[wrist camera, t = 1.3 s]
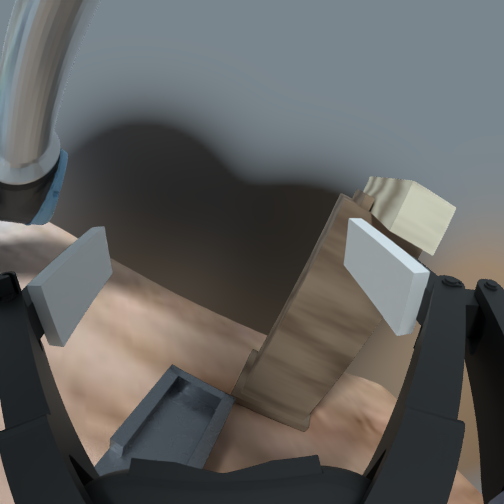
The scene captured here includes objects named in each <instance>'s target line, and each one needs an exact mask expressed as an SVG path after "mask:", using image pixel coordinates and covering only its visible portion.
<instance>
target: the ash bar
mask: <svg viewBox="0 0 504 504" xmlns="http://www.w3.org/2000/svg"><path fill="white" fill-rule="evenodd" d="M363 192H364V193H366V194H368V195H369V196H371V197H373V198H375V199H374V201H373V204H372V206H371V208H370V210H369V211H370V212H371V213H372V214H373V215H374V216H375V217H376V218H377V219H378V220H379V221H380V222H381V223H382V224H383V225H384V226H385V227H386V228H387V229H388V230H389V231H391V232H392V233H394V234H396V235H398V236H400V237H401V238H403V239H405V240H407V241H408V242H410V243H412V244H414V245H415V246H417V247H419V248H421V249H422V250H424V251H426V252H427V253H429V254H431V255H433V254H434V252H435V251H436V248H437V247H438V245H439V243H440V241H441V239H442V237H443V235H444V233H445V231H446V229H447V227H448V225H449V222H450V221H451V218H452V216H453V214H454V212H455V210H456V208H455V207H454V206H453V205H451V204H450V203H448V202H447V201H445V200H444V199H442V198H440V197H439V196H437V195H436V194H434V193H433V192H431V191H429V190H428V189H426V188H425V187H423V186H421V185H420V184H418V183H416V182H415V181H411V180H402V179H393V178H382V177H370V178H369V181H368V183H367V185H366V187H365V189H364V191H363Z"/></svg>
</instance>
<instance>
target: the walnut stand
mask: <svg viewBox="0 0 504 504" xmlns="http://www.w3.org/2000/svg"><path fill="white" fill-rule="evenodd" d="M374 199H375V198H373V197H371V196H369V195H368V194H366V193H364V192H362V191H360V190H358V189H357V190H356V192H355V194H354V196H353V198H352V199H351V198H350V197H348V196H345V195H344V194H340V196H339V198H338V200H337V202H336V204H335V207H334V209H333V211H332V213H331V215H330V217H329V219H328V221H327V223H326V225H325V227H324V229H323V231H322V233H321V235H320V237H319V239H318V242H317V244H316V245H315V247H314V249H313V251H312V253H311V255H310V257H309V259H308V261H307V263H306V265H305V267H304V269H303V271H302V273H301V275H300V277H299V279H298V281H297V283H296V284H295V286H294V289H293V290H292V292H291V294H290V296H289V298H288V300H287V301H286V303H285V305H284V307H283V309H282V311H281V313H280V314H279V317H278V318H277V320H276V322H275V324H274V325H273V327H272V329H271V331H270V333H269V335H268V336H267V338H266V340H265V342H264V343H263V345H262V347H261V349H260V350H259V352H258V351H256V350H254V349H253V350H252V352H251V354H250V356H249V358H248V360H247V362H246V364H245V366H244V369H243V371H242V373H241V375H240V377H239V379H238V381H237V383H236V385H235V387H234V390H233V392H232V394H231V396H232V397H234V398H236V399H235V402H236V403H238V404H240V405H242V406H244V407H246V408H248V409H251V410H253V411H255V412H257V413H259V414H262V415H264V416H266V417H269V418H271V419H273V420H276V421H278V422H281V423H283V424H285V425H288V426H290V427H293V428H296V429H298V430H301V431H303V432H305V431H306V430H307V429H308V428H309V421H310V415H311V411H312V410H313V409H314V408H315V406H316V405H317V404H318V403H319V402H320V401H321V399H322V398H323V397H324V396H325V395H326V393H327V392H328V391H329V390H330V389H331V387H332V386H333V385H334V384H335V382H336V381H337V380H338V379H339V377H340V376H341V375H342V373H343V372H344V371H345V369H346V368H347V367H348V366H349V364H350V363H351V362H352V360H353V359H354V358H355V356H356V355H357V354H358V352H359V351H360V349H361V348H362V347H363V345H364V344H365V342H366V341H367V340H368V338H369V337H370V335H371V334H372V332H373V331H374V329H375V328H376V326H377V325H378V324H379V322H380V320H381V319H382V317H383V316H382V315H381V313H380V312H379V310H378V309H377V308H376V306H375V305H374V304H373V302H372V301H371V300H370V298H369V297H368V296H367V294H366V293H365V292H364V291H363V289H362V288H361V287H360V285H359V284H358V283H357V281H356V280H355V279H354V278H353V276H352V275H351V274H350V272H349V271H348V270H347V269H346V267H345V266H344V258H345V249H346V240H347V231H348V221H349V218H362V219H363V220H364V221H366V222H367V223H369V224H370V225H371V226H373V227H374V228H375V229H377V230H378V231H379V232H381V233H382V234H383V235H385V236H386V237H387V238H388V239H390V240H391V241H392V242H394V243H395V244H396V245H397V246H399V247H400V248H401V249H403V250H404V251H405V252H406V253H408V254H409V255H411V256H413V257H415V258H416V259H418V257H419V256H420V254H421V252H422V249H421V248H419V247H417V246H415V245H414V244H412V243H410V242H408V241H407V240H405V239H403V238H401V237H400V236H398V235H396V234H394V233H392V232H391V231H389V230H388V229H387V228H386V227H385V226H384V225H383V224H382V223H381V222H380V221H379V220H378V219H377V218H376V217H375V216H374V215H373V214H372V213H371V212H370V211H369V210H370V208H371V206H372V204H373V201H374Z"/></svg>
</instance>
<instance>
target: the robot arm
mask: <svg viewBox="0 0 504 504" xmlns="http://www.w3.org/2000/svg"><path fill="white" fill-rule="evenodd" d="M100 2H101V0H16V1H15V4H14V7H13V10H12V14H11V17H10V21H9V24H8V28H7V32H6V37H5V41H4V45H3V51H2V55H1V61H0V221H6V222H15V223H22V224H25V225H31V224H34V225H44V224H46V223H48V222H49V221H50V219H51V217H52V216H53V213H54V210H55V207H56V204H57V201H58V196H59V192H60V189H61V186H62V183H63V178H64V174H65V170H66V165H67V159H68V155H67V152H66V151H64V150H62V149H61V148H60V141H59V138H58V136H57V134H56V132H55V131H54V129H55V124H56V120H57V116H58V112H59V108H60V105H61V101H62V98H63V95H64V91H65V88H66V84H67V82H68V78H69V75H70V73H71V69H72V67H73V64H74V61H75V58H76V56H77V53H78V50H79V48H80V45H81V43H82V41H83V38H84V36H85V33H86V31H87V29H88V27H89V24H90V22H91V20H92V18H93V16H94V13H95V12H96V9H97V7H98V5H99V3H100ZM344 266H345V267H346V269H347V270H348V271H349V272H350V274H351V275H352V276H353V278H354V279H355V280H356V281H357V283H358V284H359V285H360V287H361V288H362V289H363V291H364V292H365V293H366V294H367V296H368V297H369V298H370V300H371V301H372V302H373V304H374V305H375V306H376V308H377V309H378V310H379V312H380V313H381V315H382V316H383V317H384V319H385V320H386V321H387V323H388V324H389V325H390V327H391V328H392V330H393V331H394V332H395V334H396V335H397V336H399V335H405V334H410V333H412V332H413V329H414V326H415V323H416V320H417V321H418V322H419V324H420V325H421V328H420V331H419V334H418V337H417V339H416V342H415V345H414V352H413V355H412V358H411V362H410V365H409V368H408V371H407V374H406V377H405V380H404V383H403V386H402V389H401V392H400V394H399V397H398V400H397V402H396V405H395V407H394V410H393V412H392V415H391V417H390V420H389V422H388V425H387V427H386V429H385V432H384V434H383V436H382V438H381V441H380V443H379V445H378V447H377V449H376V451H375V453H374V455H373V457H372V459H371V461H370V463H369V465H368V467H367V469H366V470H365V472H364V474H363V475H360V474H358V473H355V472H352V471H349V470H346V469H342V468H337V467H330V466H321V465H320V461H319V457H318V455H313V456H306V457H299V458H292V459H283V460H273V461H269V462H266V463H263V464H259V465H256V466H252V467H248V468H245V469H241V470H237V471H233V472H229V473H217V472H212V471H208V470H203V469H199V468H195V467H191V466H187V465H184V464H180V463H177V462H168V461H157V460H147V459H139V458H131V462H130V468H129V469H124V470H119V471H114V472H111V473H107V474H105V475H102V476H100V475H99V474H98V473H97V471H96V470H95V468H94V466H93V464H92V463H91V461H90V459H89V457H88V455H87V453H86V451H85V450H84V448H83V446H82V444H81V442H80V440H79V438H78V435H77V433H76V431H75V429H74V427H73V425H72V423H71V420H70V418H69V416H68V414H67V411H66V409H65V406H64V404H63V401H62V399H61V396H60V394H59V391H58V389H57V386H56V383H55V380H54V378H53V375H52V372H51V369H50V366H49V363H48V360H47V356H46V353H45V350H44V346H43V344H42V342H41V340H40V339H41V337H42V336H43V334H45V336H46V338H47V341H48V343H49V345H52V346H60V347H64V346H65V344H66V342H67V341H68V339H69V337H70V336H71V334H72V333H73V331H74V329H75V328H76V326H77V325H78V323H79V322H80V320H81V319H82V317H83V315H84V314H85V312H86V311H87V309H88V308H89V306H90V305H91V303H92V302H93V301H94V299H95V298H96V296H97V295H98V293H99V292H100V290H101V289H102V287H103V286H104V285H105V283H106V282H107V280H108V279H109V278H110V276H111V275H112V273H113V271H112V266H111V261H110V256H109V251H108V245H107V240H106V234H105V228H104V227H93V228H91V229H90V230H88V231H87V232H86V233H85V234H84V235H82V236H81V237H80V238H79V239H78V240H76V241H75V242H74V243H73V244H72V245H70V246H69V247H68V248H67V249H66V250H65V251H63V252H62V253H61V254H60V255H59V256H58V257H57V258H56V259H54V260H53V261H52V262H51V263H50V264H49V265H48V266H47V267H46V268H44V269H43V270H42V271H41V272H40V273H39V274H38V275H37V276H36V277H35V278H34V279H33V280H32V281H31V282H30V283H29V284H28V285H27V286H26V287H25V288H24V289H23V290H22V291H21V288H20V285H19V282H18V279H17V276H16V273H15V272H12V271H10V272H5V273H2V274H0V400H1V407H2V413H3V418H4V424H5V430H2V431H0V454H1V459H2V463H3V466H4V470H5V474H6V477H7V481H8V484H9V487H10V490H11V493H12V496H13V499H14V502H15V504H447V502H448V499H449V495H450V492H451V489H452V485H453V482H454V478H455V474H456V470H457V466H458V461H459V457H460V453H461V448H462V443H463V438H464V432H465V423H464V422H463V421H461V420H457V418H458V412H459V405H460V398H461V390H462V381H463V371H464V370H463V369H464V359H465V363H466V367H467V372H468V377H469V381H470V386H471V392H472V396H473V403H474V409H475V416H476V421H477V422H476V423H477V431H478V439H479V451H480V466H481V483H482V494H483V501H484V504H504V289H503V288H502V287H501V286H500V285H499V284H497V282H495V281H493V280H488V279H480V280H479V281H478V282H477V286H476V289H475V290H470V289H465V286H464V284H463V283H462V282H461V281H460V280H458V279H456V278H454V277H451V276H445V275H443V276H441V275H440V276H437V275H436V274H435V273H433V272H432V271H431V270H430V269H429V268H427V267H426V266H425V265H424V264H422V263H421V262H420V261H419V260H418V259H416V258H415V257H413V256H411V255H409V254H408V253H406V252H405V251H404V250H403V249H401V248H400V247H399V246H397V245H396V244H395V243H394V242H392V241H391V240H390V239H388V238H387V237H386V236H385V235H383V234H382V233H381V232H379V231H378V230H377V229H375V228H374V227H373V226H371V225H370V224H369V223H367V222H366V221H364V220H363V219H362V218H349V221H348V231H347V240H346V249H345V258H344Z"/></svg>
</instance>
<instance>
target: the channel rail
mask: <svg viewBox="0 0 504 504" xmlns="http://www.w3.org/2000/svg"><path fill="white" fill-rule="evenodd" d="M235 399H236V398H234V397H232V396H230V395H228V394H226V393H224V392H222V391H220V390H218V389H216V388H214V387H212V386H211V385H209V384H207V383H205V382H203V381H201V380H199V379H197V378H196V377H194V376H192V375H190V374H188V373H186V372H185V371H183V370H181V369H179V368H178V367H176V366H174V365H171V366H170V368H169V369H168V370H167V371H166V372H165V374H164V375H163V376H162V377H161V378H160V380H159V381H158V382H157V383H156V384H155V386H154V387H153V388H152V389H151V390H150V392H149V393H148V394H147V395H146V396H145V398H144V399H143V400H142V401H141V402H140V404H139V405H138V406H137V407H136V408H135V410H134V411H133V412H132V413H131V414H130V416H129V417H128V418H127V419H126V420H125V421H124V423H123V424H122V425H121V426H120V427H119V429H118V430H117V431H116V432H115V433H114V435H113V436H112V437H111V438H110V448H109V450H108V451H107V452H106V453H105V454H104V456H103V457H102V458H101V459H100V460H99V462H98V463H97V464H96V465H95V467H94V468H95V470H96V471H97V473H98V474H99V475H100V476H102V475H105V474H107V473H111V472H114V471H119V470H124V469H129V468H130V462H131V458H139V459H147V460H157V461H168V462H177V463H180V464H184V465H187V466H191V467H195V468H199V469H202V468H203V466H204V464H205V462H206V460H207V458H208V456H209V454H210V452H211V450H212V448H213V446H214V444H215V442H216V440H217V438H218V436H219V434H220V431H221V429H222V427H223V425H224V423H225V421H226V419H227V417H228V415H229V412H230V410H231V408H232V406H233V404H234V402H235Z"/></svg>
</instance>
